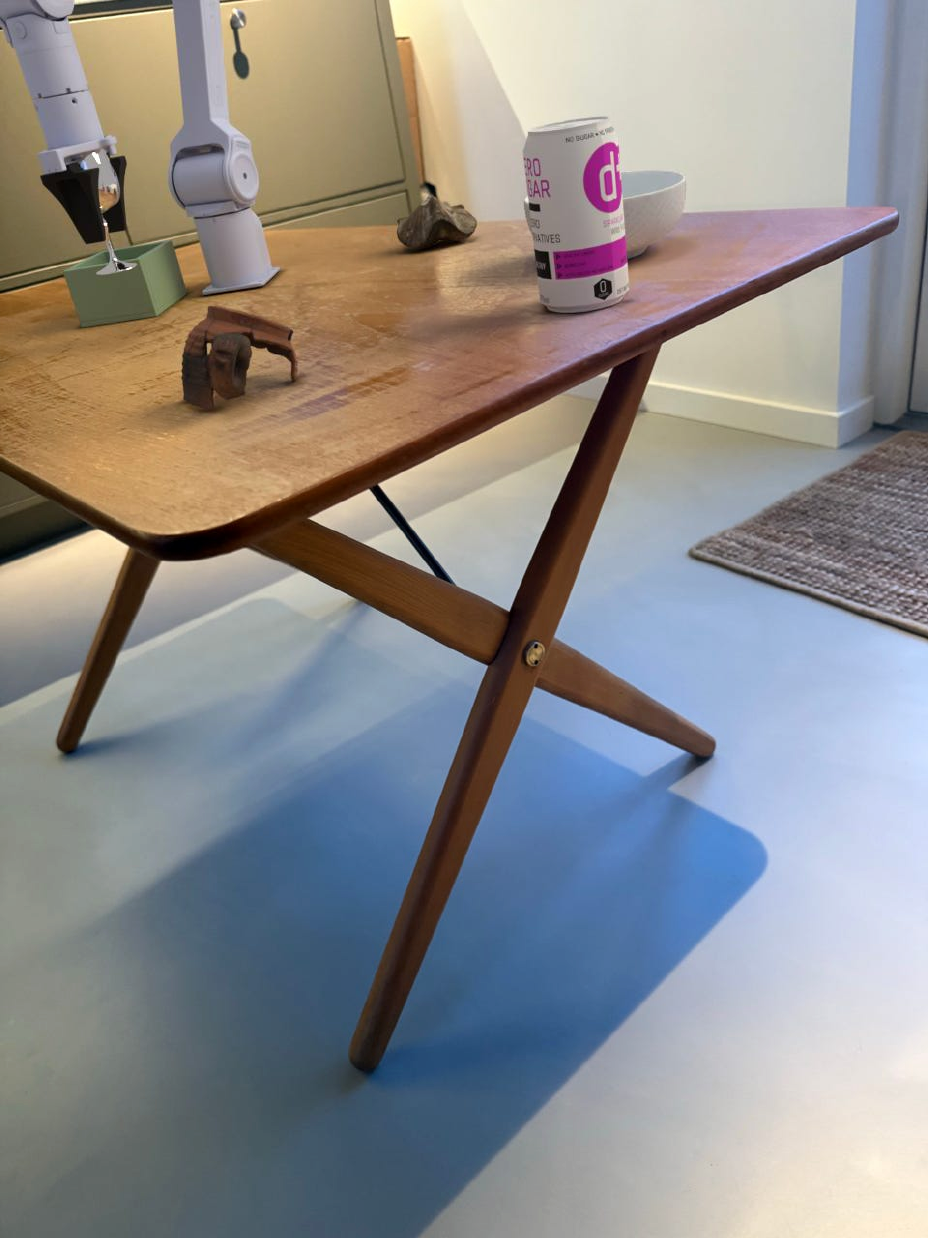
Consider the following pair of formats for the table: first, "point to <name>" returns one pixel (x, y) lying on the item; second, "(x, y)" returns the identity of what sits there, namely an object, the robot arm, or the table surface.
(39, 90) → the robot arm
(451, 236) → the fossilized seashell
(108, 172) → the wineglass
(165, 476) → the table surface
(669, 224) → the cereal bowl
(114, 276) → the bin
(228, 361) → the reddish-brown arched part
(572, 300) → the supplement can
